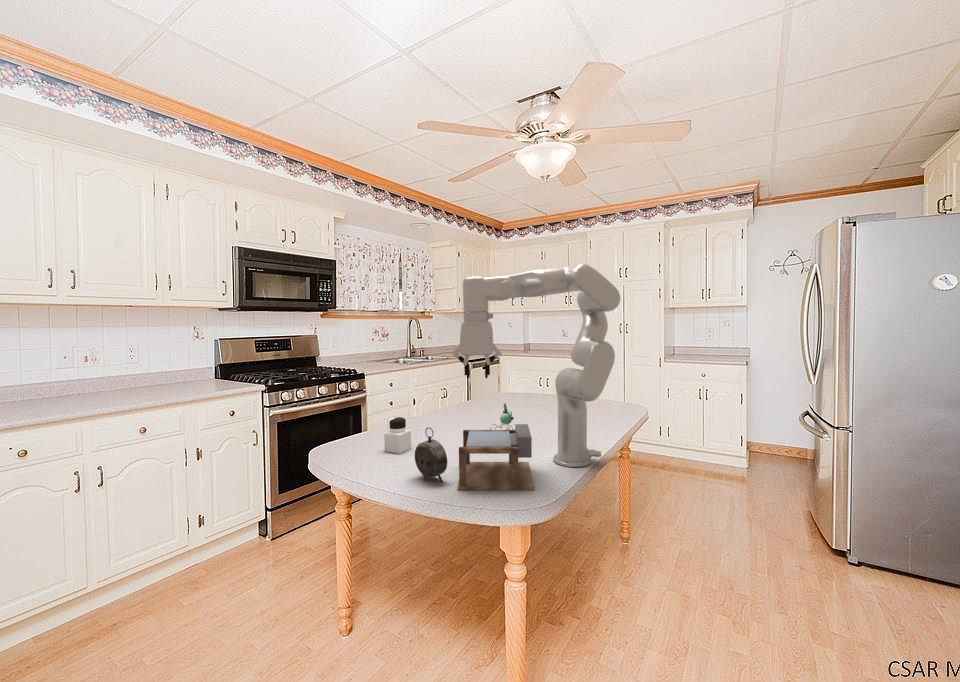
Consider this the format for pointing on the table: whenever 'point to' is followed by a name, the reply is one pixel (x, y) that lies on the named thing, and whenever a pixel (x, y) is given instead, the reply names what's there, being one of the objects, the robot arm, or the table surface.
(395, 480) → the table surface
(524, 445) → the trapdoor
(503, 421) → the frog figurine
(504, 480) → the frame
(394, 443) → the medicine bottle
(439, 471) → the alarm clock
